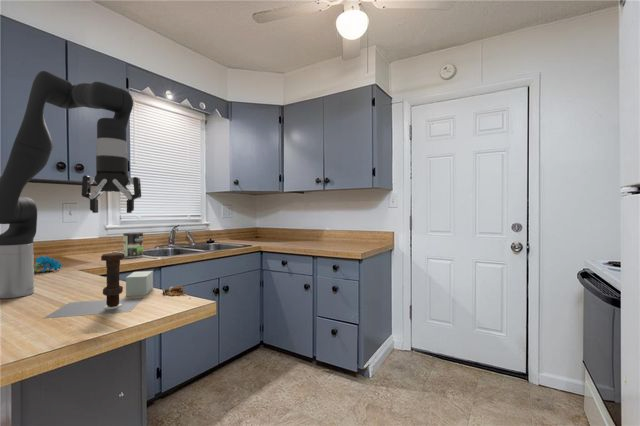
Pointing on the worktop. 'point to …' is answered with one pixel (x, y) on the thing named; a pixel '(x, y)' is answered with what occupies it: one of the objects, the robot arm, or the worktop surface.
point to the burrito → (175, 291)
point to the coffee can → (133, 245)
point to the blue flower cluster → (47, 263)
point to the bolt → (112, 278)
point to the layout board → (94, 308)
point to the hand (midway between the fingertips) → (112, 212)
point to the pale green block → (139, 283)
